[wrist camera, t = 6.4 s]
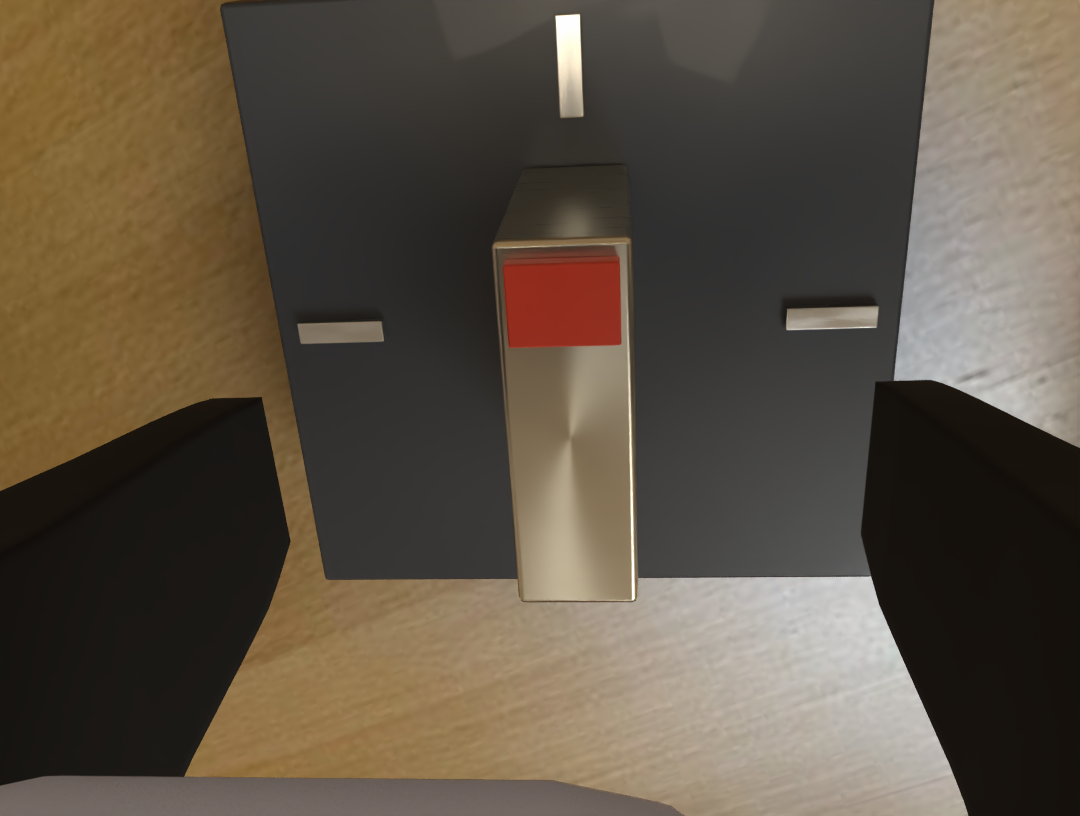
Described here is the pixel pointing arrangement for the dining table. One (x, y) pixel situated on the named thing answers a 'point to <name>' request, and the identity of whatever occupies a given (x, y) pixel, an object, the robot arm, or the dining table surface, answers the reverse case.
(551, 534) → the dial
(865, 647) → the dining table surface
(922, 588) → the robot arm
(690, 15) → the dial panel
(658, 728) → the dining table surface
